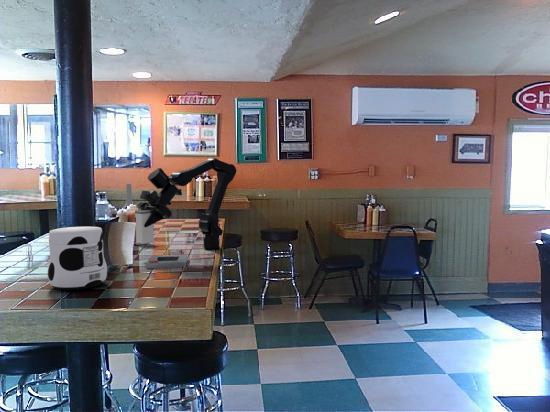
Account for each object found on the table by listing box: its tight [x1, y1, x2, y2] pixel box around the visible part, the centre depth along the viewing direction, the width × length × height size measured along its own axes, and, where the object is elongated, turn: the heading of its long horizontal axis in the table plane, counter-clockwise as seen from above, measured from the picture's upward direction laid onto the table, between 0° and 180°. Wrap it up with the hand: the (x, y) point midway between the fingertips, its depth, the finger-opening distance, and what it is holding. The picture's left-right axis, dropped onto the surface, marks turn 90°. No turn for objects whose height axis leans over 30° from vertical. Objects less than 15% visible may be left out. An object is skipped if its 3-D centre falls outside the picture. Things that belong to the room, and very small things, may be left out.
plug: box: [135, 210, 155, 245], centre depth 193 cm, size 5×5×12 cm
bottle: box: [122, 183, 135, 210], centre depth 245 cm, size 7×7×28 cm
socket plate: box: [145, 254, 189, 270], centre depth 185 cm, size 14×14×2 cm
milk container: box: [47, 226, 108, 291], centre depth 152 cm, size 17×17×18 cm
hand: (141, 226), depth 192 cm, fingers closed on plug, 5 cm apart
